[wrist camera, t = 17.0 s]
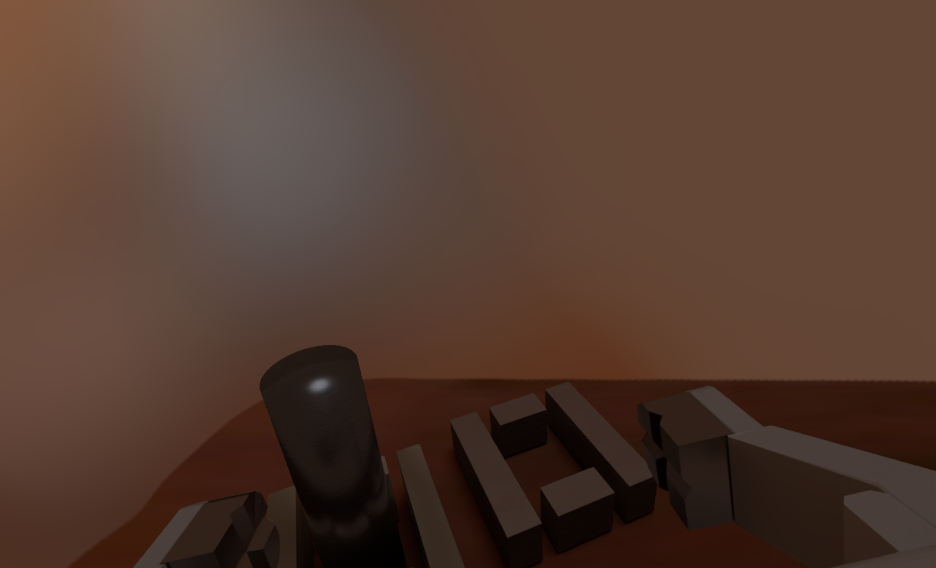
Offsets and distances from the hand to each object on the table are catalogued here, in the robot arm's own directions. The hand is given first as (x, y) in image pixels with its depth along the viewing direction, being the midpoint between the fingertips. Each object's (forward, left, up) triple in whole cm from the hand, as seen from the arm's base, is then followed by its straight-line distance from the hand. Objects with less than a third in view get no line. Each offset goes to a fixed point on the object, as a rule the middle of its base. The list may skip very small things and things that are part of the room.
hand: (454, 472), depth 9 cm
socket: (-9, -12, -17) cm, 23 cm away
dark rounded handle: (+3, -10, -17) cm, 20 cm away
